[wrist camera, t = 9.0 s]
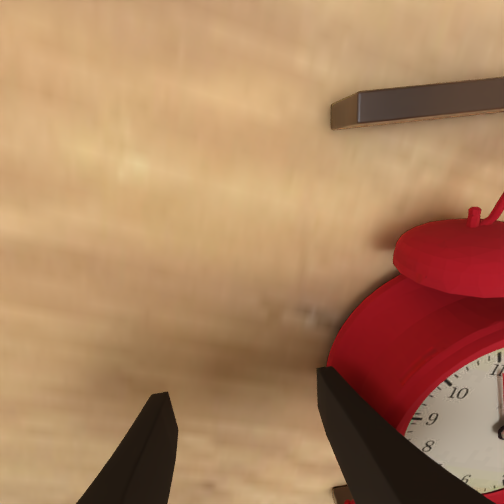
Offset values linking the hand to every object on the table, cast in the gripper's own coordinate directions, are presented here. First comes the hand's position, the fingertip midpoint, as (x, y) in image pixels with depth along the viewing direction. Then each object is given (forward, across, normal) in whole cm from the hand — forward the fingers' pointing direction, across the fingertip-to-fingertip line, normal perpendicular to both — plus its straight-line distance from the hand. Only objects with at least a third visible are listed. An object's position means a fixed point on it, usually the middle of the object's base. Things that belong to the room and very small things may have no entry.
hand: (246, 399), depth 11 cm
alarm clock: (+2, -9, -1) cm, 9 cm away
